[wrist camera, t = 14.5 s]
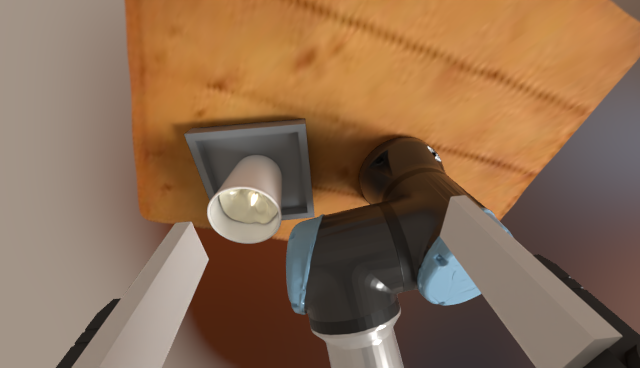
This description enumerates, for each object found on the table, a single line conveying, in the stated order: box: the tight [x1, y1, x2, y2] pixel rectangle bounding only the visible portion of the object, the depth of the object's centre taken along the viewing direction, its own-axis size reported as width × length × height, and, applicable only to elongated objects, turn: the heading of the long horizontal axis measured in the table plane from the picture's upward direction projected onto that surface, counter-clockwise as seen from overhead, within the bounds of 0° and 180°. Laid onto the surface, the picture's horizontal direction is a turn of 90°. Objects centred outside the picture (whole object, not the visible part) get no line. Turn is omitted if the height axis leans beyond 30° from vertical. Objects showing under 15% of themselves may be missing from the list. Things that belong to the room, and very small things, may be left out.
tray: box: [184, 119, 314, 220], centre depth 41 cm, size 18×18×3 cm
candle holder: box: [207, 155, 282, 244], centre depth 36 cm, size 10×10×12 cm
